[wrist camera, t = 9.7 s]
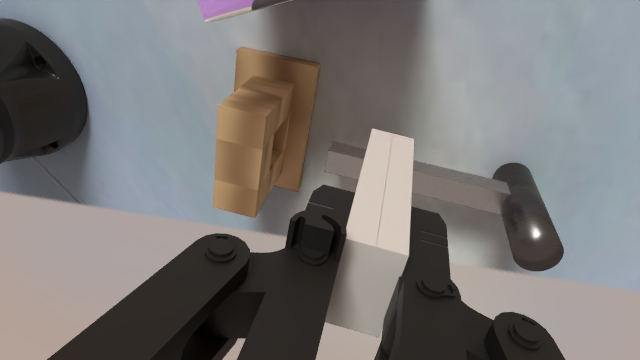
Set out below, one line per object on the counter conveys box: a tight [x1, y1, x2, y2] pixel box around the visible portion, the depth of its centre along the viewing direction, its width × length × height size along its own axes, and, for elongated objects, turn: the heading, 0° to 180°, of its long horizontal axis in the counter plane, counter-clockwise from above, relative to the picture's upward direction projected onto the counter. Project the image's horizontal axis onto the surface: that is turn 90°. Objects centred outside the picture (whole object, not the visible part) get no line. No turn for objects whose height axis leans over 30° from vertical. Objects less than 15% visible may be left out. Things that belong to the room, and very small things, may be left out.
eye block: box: [213, 47, 320, 218], centre depth 43 cm, size 8×14×10 cm, turn 170°
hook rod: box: [325, 141, 564, 271], centre depth 41 cm, size 20×4×12 cm, turn 80°
